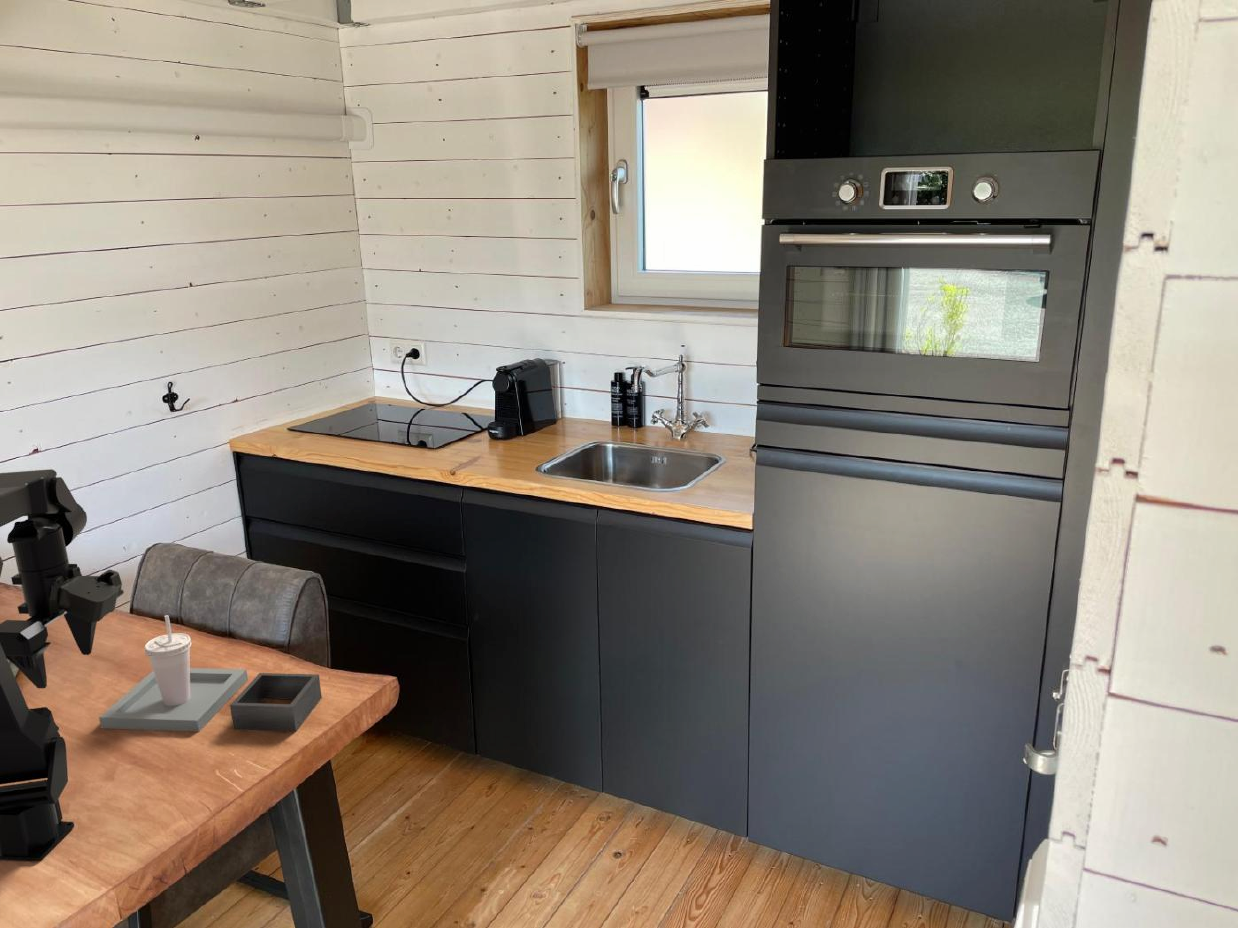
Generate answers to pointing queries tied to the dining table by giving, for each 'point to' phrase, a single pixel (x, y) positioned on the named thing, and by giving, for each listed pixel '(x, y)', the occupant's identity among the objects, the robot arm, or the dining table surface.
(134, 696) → the tray
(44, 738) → the robot arm
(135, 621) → the dining table surface
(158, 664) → the smoothie
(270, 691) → the cup holder
